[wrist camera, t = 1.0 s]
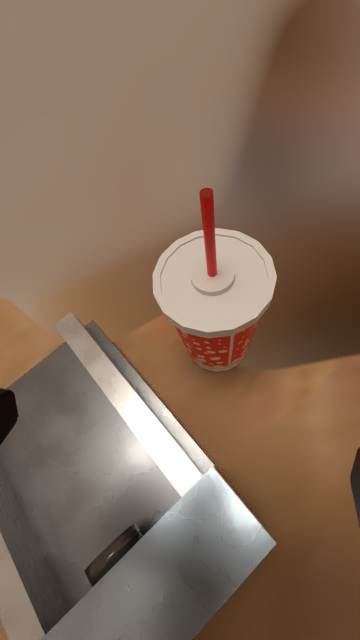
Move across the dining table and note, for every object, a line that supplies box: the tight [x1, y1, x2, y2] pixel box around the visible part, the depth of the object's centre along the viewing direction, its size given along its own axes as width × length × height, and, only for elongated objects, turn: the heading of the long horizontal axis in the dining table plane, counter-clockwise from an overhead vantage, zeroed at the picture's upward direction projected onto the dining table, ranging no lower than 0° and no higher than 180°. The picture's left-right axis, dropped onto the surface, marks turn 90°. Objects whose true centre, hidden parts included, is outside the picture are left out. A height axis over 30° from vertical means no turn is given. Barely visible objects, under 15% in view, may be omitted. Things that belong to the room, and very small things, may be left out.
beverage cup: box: [153, 188, 277, 372], centre depth 17 cm, size 6×6×14 cm
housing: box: [0, 312, 276, 640], centre depth 18 cm, size 18×13×5 cm
